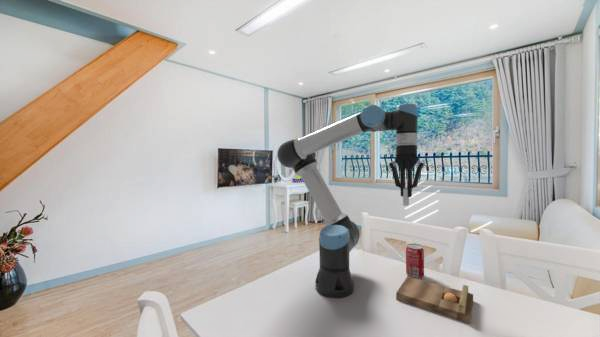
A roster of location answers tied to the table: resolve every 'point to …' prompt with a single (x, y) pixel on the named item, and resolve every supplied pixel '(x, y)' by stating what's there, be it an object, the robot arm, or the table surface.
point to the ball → (450, 297)
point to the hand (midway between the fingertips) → (406, 205)
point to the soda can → (415, 261)
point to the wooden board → (436, 298)
